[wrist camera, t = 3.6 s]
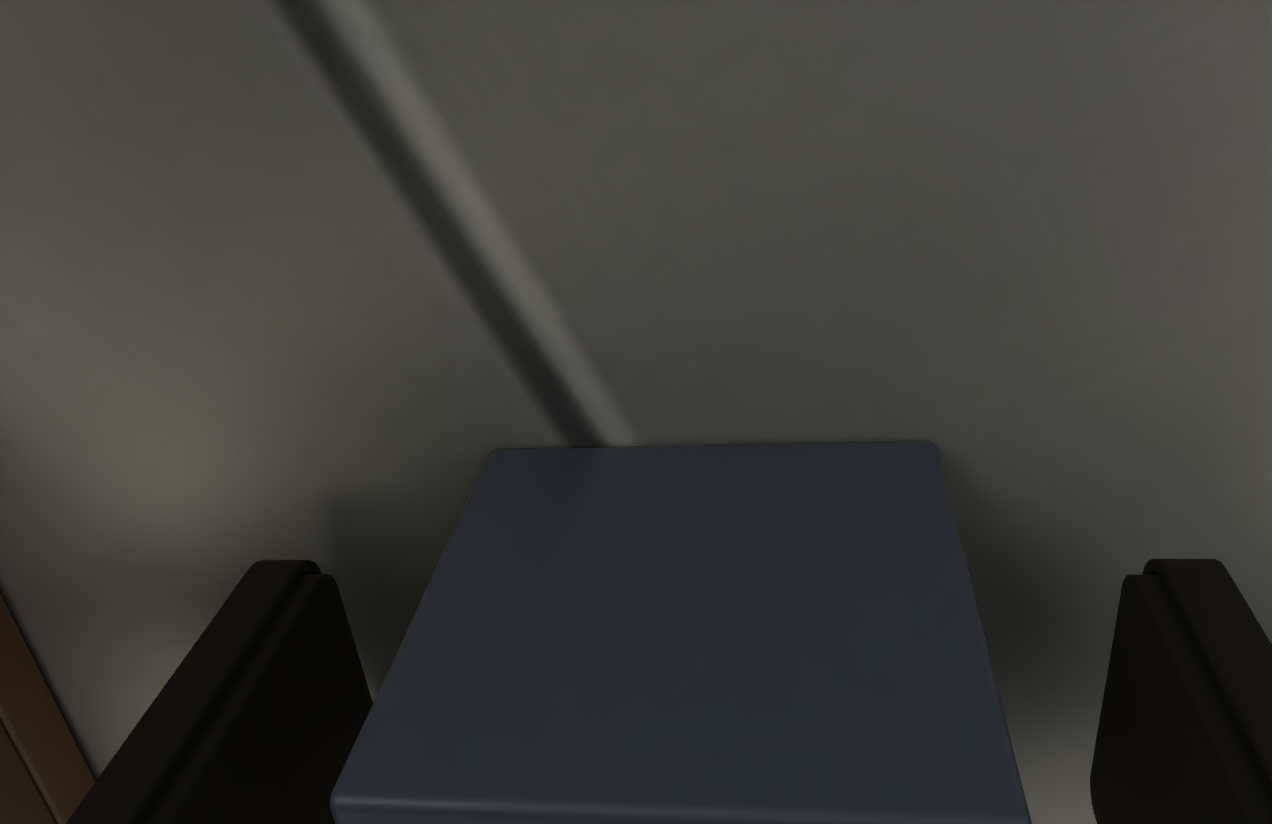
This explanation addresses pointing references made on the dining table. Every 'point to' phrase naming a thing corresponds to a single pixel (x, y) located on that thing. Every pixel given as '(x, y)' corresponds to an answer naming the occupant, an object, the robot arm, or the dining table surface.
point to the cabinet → (34, 741)
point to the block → (694, 649)
